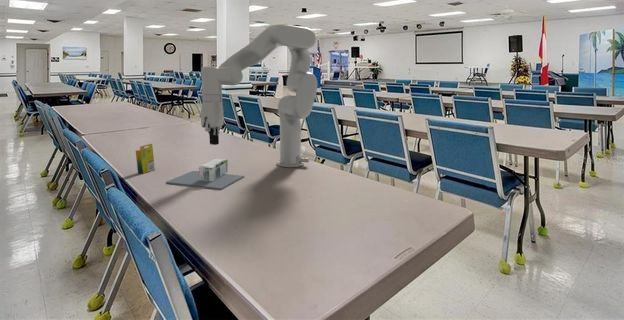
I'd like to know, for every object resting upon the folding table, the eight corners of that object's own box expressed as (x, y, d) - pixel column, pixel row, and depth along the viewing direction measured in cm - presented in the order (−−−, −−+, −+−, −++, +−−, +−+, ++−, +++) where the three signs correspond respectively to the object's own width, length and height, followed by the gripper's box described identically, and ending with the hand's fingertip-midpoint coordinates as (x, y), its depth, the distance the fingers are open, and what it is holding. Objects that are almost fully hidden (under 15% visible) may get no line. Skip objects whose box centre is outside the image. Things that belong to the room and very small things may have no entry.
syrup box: (228, 172, 168) (212, 182, 154) (215, 171, 169) (198, 180, 155) (227, 159, 166) (212, 167, 153) (214, 158, 168) (198, 166, 154)
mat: (244, 177, 163) (244, 175, 163) (221, 189, 146) (221, 188, 146) (193, 172, 170) (193, 170, 170) (166, 183, 153) (165, 181, 153)
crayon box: (149, 169, 174) (147, 142, 171) (155, 169, 173) (153, 143, 170) (137, 173, 167) (134, 145, 164) (143, 173, 166) (140, 146, 163)
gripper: (214, 97, 166) (215, 140, 170) (193, 99, 152) (195, 146, 156) (230, 97, 163) (231, 141, 168) (210, 100, 150) (212, 148, 154)
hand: (214, 144), depth 162 cm, fingers closed
